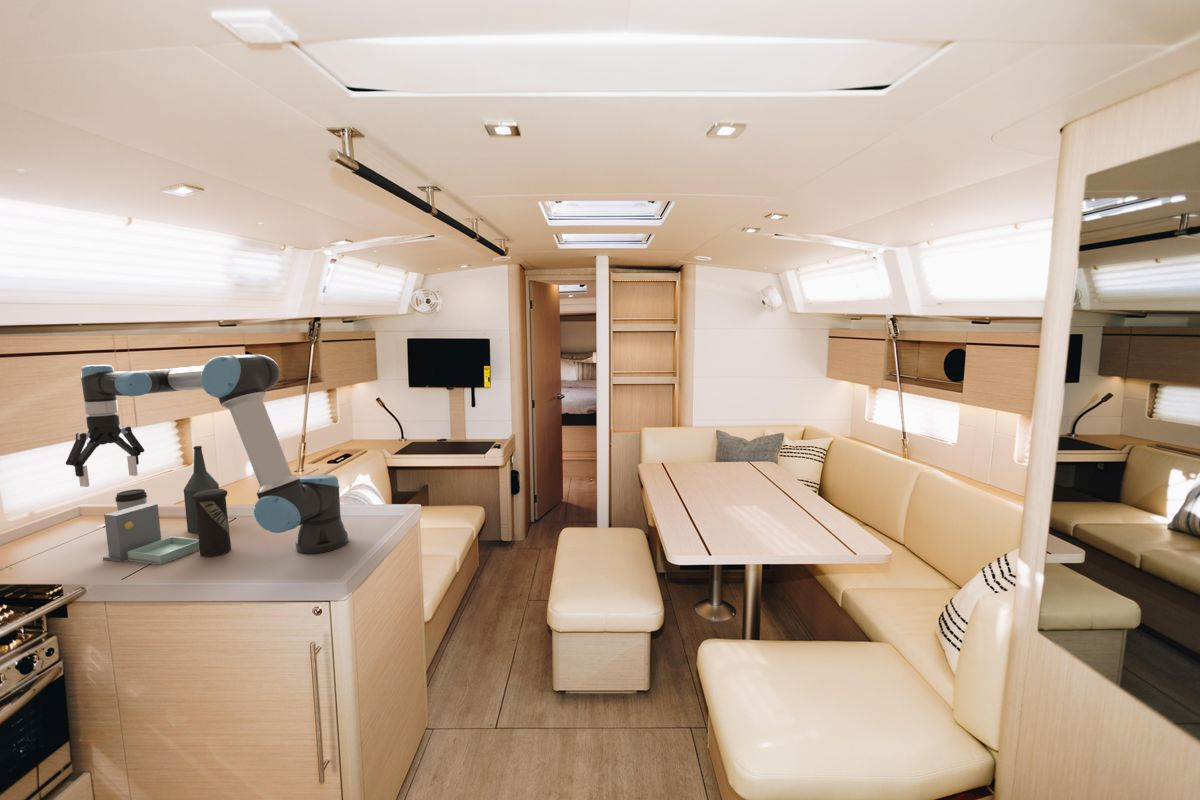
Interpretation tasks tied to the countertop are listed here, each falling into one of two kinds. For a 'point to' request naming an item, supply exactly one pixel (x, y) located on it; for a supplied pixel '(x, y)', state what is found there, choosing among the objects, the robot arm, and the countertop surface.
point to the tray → (164, 550)
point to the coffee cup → (130, 498)
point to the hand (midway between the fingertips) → (110, 480)
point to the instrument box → (131, 530)
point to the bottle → (197, 488)
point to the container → (212, 522)
